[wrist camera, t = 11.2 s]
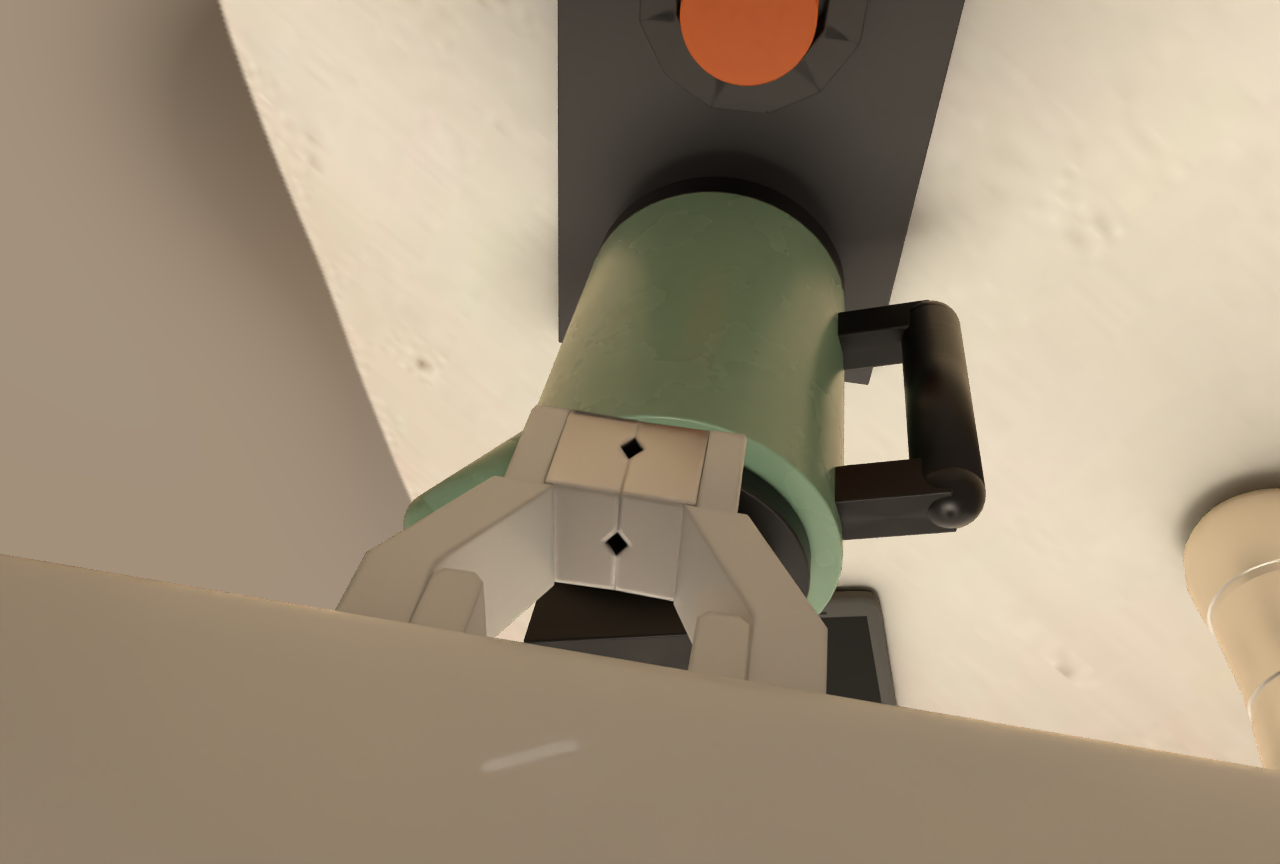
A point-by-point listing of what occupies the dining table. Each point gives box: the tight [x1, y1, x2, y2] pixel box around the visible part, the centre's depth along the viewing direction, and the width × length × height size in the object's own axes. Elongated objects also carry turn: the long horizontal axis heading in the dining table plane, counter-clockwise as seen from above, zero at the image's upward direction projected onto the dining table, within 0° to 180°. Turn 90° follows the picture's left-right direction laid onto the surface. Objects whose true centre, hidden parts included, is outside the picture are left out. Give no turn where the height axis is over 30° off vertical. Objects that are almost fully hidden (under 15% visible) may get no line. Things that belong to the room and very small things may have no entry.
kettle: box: [403, 176, 986, 670], centre depth 30 cm, size 17×9×17 cm, turn 106°
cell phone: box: [818, 591, 896, 706], centre depth 53 cm, size 7×14×1 cm, turn 15°
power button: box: [680, 0, 819, 86], centre depth 29 cm, size 4×4×2 cm
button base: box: [558, 0, 965, 385], centre depth 35 cm, size 18×13×3 cm
